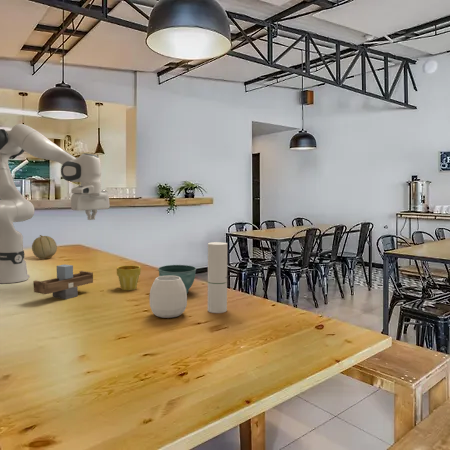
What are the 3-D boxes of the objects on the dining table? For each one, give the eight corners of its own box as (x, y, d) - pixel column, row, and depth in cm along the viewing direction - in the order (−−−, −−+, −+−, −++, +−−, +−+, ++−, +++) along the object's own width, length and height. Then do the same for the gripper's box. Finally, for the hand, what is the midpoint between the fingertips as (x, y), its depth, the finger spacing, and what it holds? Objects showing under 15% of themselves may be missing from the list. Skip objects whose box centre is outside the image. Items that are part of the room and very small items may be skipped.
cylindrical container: (229, 308, 158) (230, 242, 156) (223, 313, 152) (223, 245, 150) (211, 306, 161) (212, 241, 159) (204, 311, 154) (205, 244, 152)
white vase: (156, 322, 141) (156, 283, 140) (144, 312, 153) (144, 276, 152) (192, 317, 147) (192, 279, 146) (179, 308, 159) (178, 272, 158)
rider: (56, 281, 173) (56, 265, 173) (64, 279, 177) (64, 264, 176) (65, 283, 171) (65, 267, 170) (73, 281, 174) (72, 265, 174)
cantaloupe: (51, 260, 259) (50, 236, 258) (27, 260, 259) (27, 236, 258) (61, 257, 274) (60, 234, 273) (38, 256, 274) (38, 233, 273)
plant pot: (134, 292, 183) (134, 269, 182) (112, 290, 185) (112, 268, 184) (144, 286, 193) (144, 265, 192) (123, 285, 195) (122, 264, 194)
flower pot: (203, 292, 182) (203, 268, 181) (175, 299, 171) (175, 273, 170) (179, 286, 193) (179, 263, 192) (150, 292, 182) (150, 268, 181)
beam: (33, 301, 166) (32, 280, 165) (80, 289, 186) (80, 270, 186) (46, 304, 162) (46, 283, 161) (94, 291, 183) (93, 272, 182)
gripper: (103, 189, 203) (103, 218, 204) (68, 189, 185) (68, 220, 186) (112, 189, 199) (112, 218, 201) (78, 189, 182) (78, 221, 183)
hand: (91, 219), depth 193 cm, fingers closed
